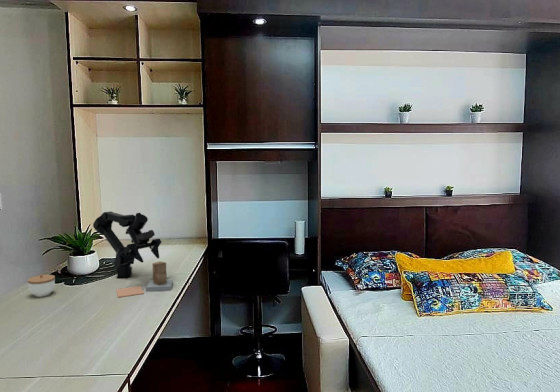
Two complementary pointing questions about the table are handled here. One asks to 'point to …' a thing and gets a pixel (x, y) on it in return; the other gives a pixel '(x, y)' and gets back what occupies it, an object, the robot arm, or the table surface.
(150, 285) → the grey ledge
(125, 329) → the table surface
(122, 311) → the table surface
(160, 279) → the walnut block
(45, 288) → the lidded jar
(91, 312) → the table surface
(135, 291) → the terracotta mat
